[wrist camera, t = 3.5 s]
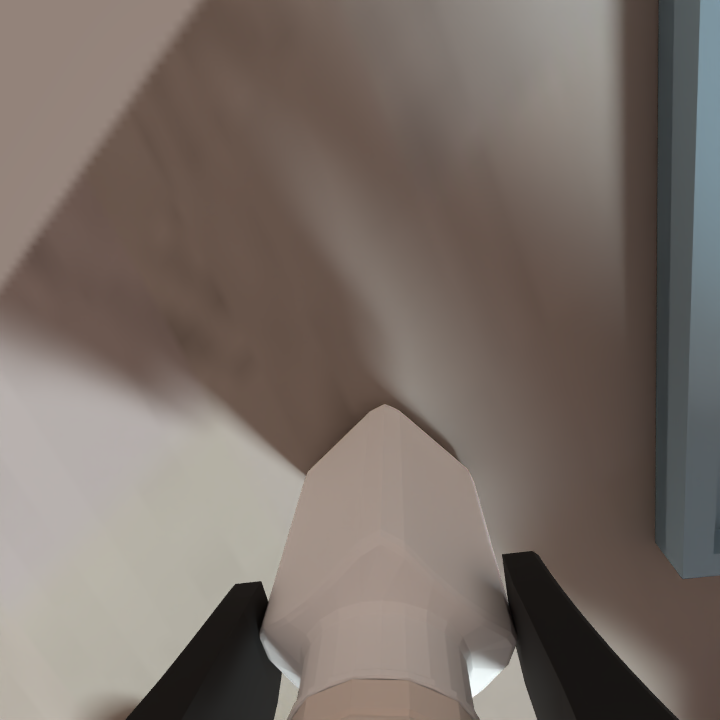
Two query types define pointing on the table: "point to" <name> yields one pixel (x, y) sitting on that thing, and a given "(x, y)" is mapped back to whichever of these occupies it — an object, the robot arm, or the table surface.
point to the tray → (688, 288)
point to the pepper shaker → (388, 583)
